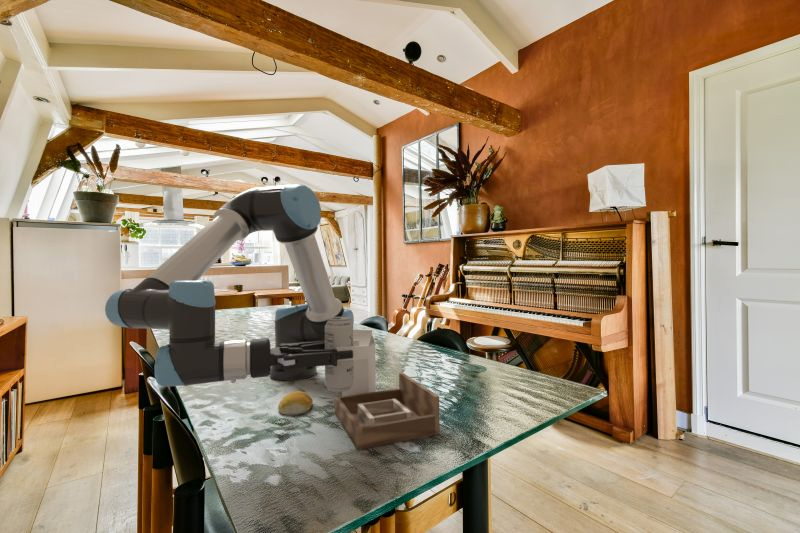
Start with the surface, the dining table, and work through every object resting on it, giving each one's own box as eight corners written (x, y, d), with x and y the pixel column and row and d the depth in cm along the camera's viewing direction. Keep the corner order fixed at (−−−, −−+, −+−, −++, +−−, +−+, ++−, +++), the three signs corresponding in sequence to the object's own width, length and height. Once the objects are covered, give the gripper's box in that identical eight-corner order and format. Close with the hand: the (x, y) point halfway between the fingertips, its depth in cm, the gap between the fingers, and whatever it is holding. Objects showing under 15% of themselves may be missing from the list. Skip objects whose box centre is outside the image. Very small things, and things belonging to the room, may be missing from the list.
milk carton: (368, 407, 96) (368, 332, 96) (342, 405, 97) (341, 331, 97) (375, 397, 103) (375, 328, 103) (351, 396, 104) (350, 327, 104)
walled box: (334, 413, 91) (334, 380, 91) (402, 403, 98) (402, 372, 98) (357, 450, 73) (357, 409, 73) (439, 434, 80) (439, 396, 80)
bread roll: (313, 402, 100) (313, 387, 101) (309, 414, 92) (309, 398, 92) (281, 403, 100) (281, 388, 100) (274, 416, 91) (274, 400, 91)
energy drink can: (354, 391, 78) (354, 319, 78) (325, 393, 77) (324, 320, 77) (352, 383, 84) (351, 315, 84) (324, 385, 83) (324, 316, 83)
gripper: (249, 366, 83) (352, 356, 91) (248, 392, 65) (376, 377, 74) (249, 332, 83) (352, 325, 91) (248, 349, 65) (375, 339, 74)
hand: (362, 348), depth 82 cm, fingers closed on energy drink can, 6 cm apart
